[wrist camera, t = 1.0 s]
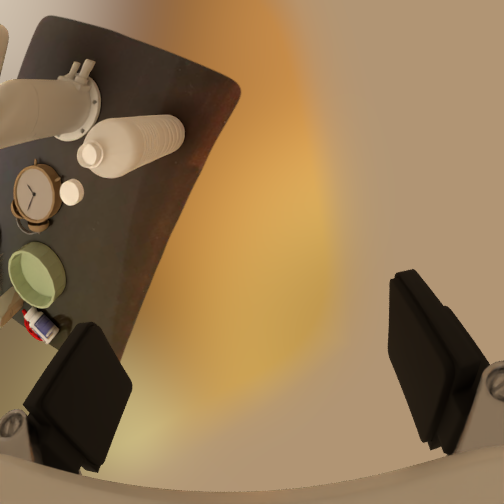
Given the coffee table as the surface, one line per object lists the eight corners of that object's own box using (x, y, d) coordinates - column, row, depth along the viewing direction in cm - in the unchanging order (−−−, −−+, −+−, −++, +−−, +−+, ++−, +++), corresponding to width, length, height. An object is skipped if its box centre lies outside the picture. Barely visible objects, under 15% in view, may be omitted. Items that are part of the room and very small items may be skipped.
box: (22, 306, 65) (-1, 331, 55) (11, 297, 64) (-13, 320, 54) (25, 293, 63) (0, 318, 53) (13, 283, 62) (-13, 307, 52)
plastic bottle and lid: (161, 107, 46) (76, 108, 23) (193, 128, 47) (128, 143, 25) (134, 151, 49) (43, 186, 26) (164, 172, 51) (88, 221, 28)
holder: (25, 230, 56) (11, 239, 52) (71, 261, 59) (59, 272, 54) (18, 277, 61) (6, 287, 57) (60, 306, 64) (50, 318, 59)
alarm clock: (63, 183, 49) (34, 250, 52) (75, 181, 53) (46, 243, 56) (25, 153, 46) (-1, 219, 49) (38, 153, 51) (12, 214, 54)
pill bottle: (62, 326, 67) (38, 300, 64) (54, 337, 62) (28, 310, 59) (52, 337, 67) (28, 312, 65) (44, 348, 62) (19, 321, 60)
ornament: (37, 343, 69) (15, 314, 66) (38, 342, 70) (16, 312, 66) (52, 337, 67) (29, 306, 64) (53, 336, 68) (30, 304, 64)
